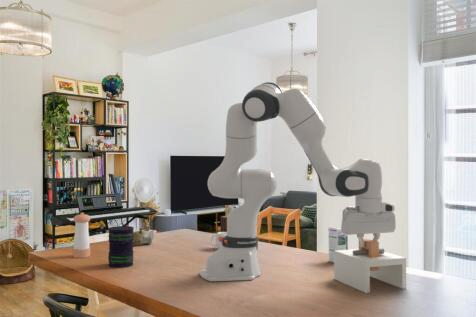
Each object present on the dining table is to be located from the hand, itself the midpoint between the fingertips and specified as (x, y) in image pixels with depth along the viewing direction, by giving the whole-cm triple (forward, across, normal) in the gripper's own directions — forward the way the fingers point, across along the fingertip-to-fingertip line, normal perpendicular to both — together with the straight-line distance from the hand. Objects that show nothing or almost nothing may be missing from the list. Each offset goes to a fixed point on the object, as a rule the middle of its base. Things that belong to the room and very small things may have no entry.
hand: (368, 246), depth 144 cm
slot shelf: (+13, 0, 0) cm, 13 cm away
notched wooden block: (+7, 0, 0) cm, 7 cm away
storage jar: (+13, -78, +55) cm, 96 cm away
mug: (+13, -29, +75) cm, 82 cm away
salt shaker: (+13, -93, +78) cm, 122 cm away
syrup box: (+13, +9, +32) cm, 36 cm away
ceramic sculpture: (+13, -66, +98) cm, 118 cm away
